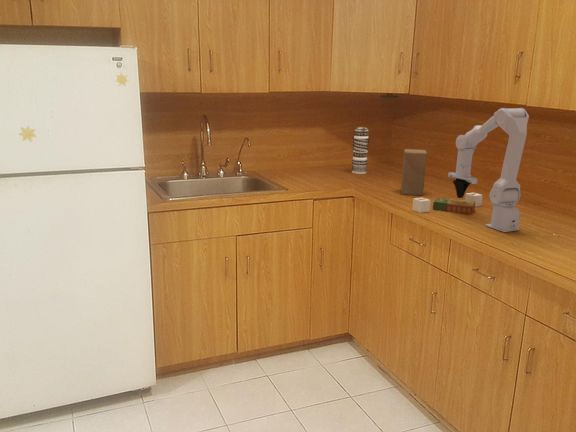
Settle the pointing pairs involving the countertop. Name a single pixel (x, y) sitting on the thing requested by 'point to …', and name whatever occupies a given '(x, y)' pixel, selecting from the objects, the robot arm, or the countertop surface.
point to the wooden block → (413, 172)
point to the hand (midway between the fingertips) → (460, 197)
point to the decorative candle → (360, 150)
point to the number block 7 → (474, 198)
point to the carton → (454, 205)
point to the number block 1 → (421, 205)
